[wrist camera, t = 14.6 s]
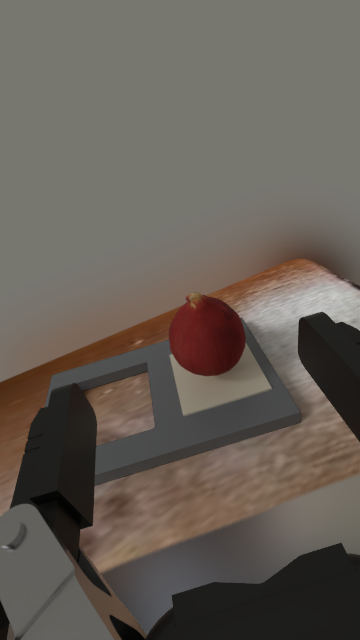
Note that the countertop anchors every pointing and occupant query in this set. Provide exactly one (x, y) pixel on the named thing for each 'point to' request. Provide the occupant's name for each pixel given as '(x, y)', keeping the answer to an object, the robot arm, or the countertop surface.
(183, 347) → the onion
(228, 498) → the countertop surface
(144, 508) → the countertop surface
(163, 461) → the tray
